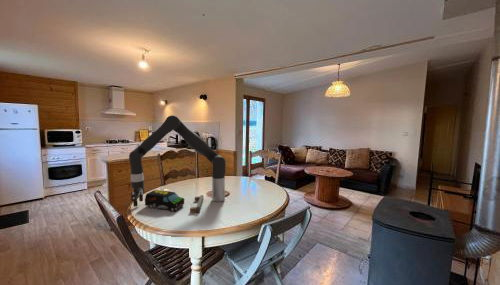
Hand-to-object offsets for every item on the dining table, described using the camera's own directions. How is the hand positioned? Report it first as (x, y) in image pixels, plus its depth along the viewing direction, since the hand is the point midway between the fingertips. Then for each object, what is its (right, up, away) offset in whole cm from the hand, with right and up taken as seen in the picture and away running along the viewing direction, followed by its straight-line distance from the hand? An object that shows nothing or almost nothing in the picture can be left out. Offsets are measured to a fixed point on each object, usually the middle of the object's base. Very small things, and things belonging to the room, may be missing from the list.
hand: (138, 203), depth 136 cm
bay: (+38, -3, +5) cm, 38 cm away
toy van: (+17, -3, +3) cm, 17 cm away
